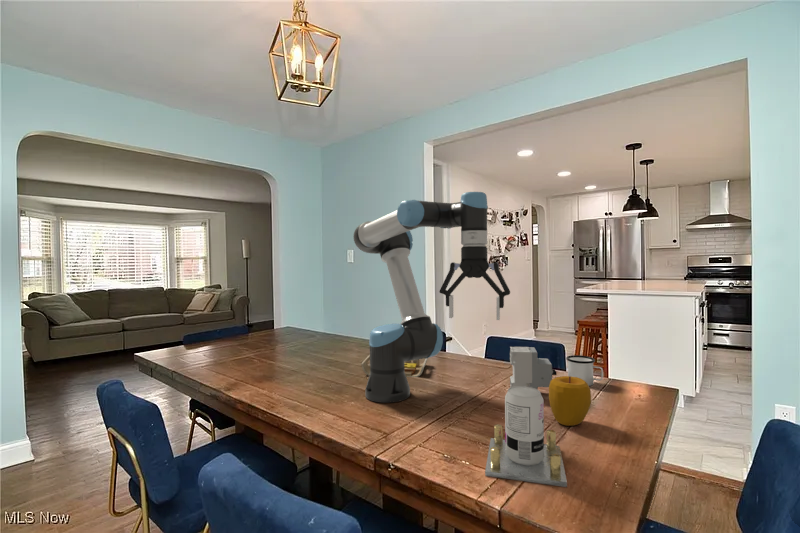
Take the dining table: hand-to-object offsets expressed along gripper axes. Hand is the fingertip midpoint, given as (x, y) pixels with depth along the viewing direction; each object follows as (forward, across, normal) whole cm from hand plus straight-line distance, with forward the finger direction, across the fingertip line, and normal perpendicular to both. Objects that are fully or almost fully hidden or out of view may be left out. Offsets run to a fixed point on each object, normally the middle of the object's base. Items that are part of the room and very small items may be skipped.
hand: (474, 318), depth 116 cm
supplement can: (+27, +14, -25) cm, 40 cm away
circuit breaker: (+28, +17, +22) cm, 40 cm away
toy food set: (+30, -37, +38) cm, 61 cm away
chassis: (+28, +14, -25) cm, 40 cm away
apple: (+28, +26, 0) cm, 38 cm away
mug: (+28, +34, +38) cm, 59 cm away
